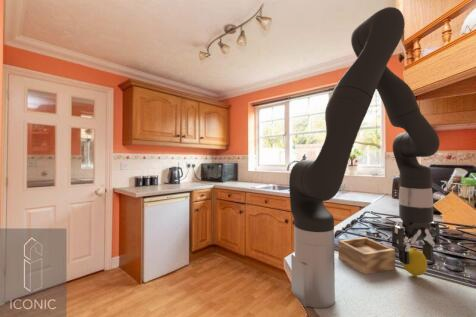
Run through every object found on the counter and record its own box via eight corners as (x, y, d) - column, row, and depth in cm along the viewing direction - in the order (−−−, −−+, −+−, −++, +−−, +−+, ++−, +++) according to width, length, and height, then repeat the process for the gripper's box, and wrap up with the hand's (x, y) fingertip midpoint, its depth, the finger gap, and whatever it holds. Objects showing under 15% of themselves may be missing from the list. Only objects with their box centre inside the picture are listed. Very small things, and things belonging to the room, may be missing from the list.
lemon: (432, 282, 60) (432, 252, 60) (408, 280, 62) (408, 251, 61) (420, 272, 66) (419, 244, 66) (398, 270, 67) (398, 243, 67)
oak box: (364, 275, 65) (364, 254, 65) (338, 258, 76) (338, 240, 76) (395, 269, 68) (395, 249, 68) (365, 254, 79) (365, 236, 79)
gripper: (408, 208, 58) (409, 271, 58) (449, 203, 62) (450, 263, 62) (383, 202, 65) (384, 258, 66) (421, 198, 69) (421, 251, 69)
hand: (416, 260), depth 64 cm, fingers open, 8 cm apart
